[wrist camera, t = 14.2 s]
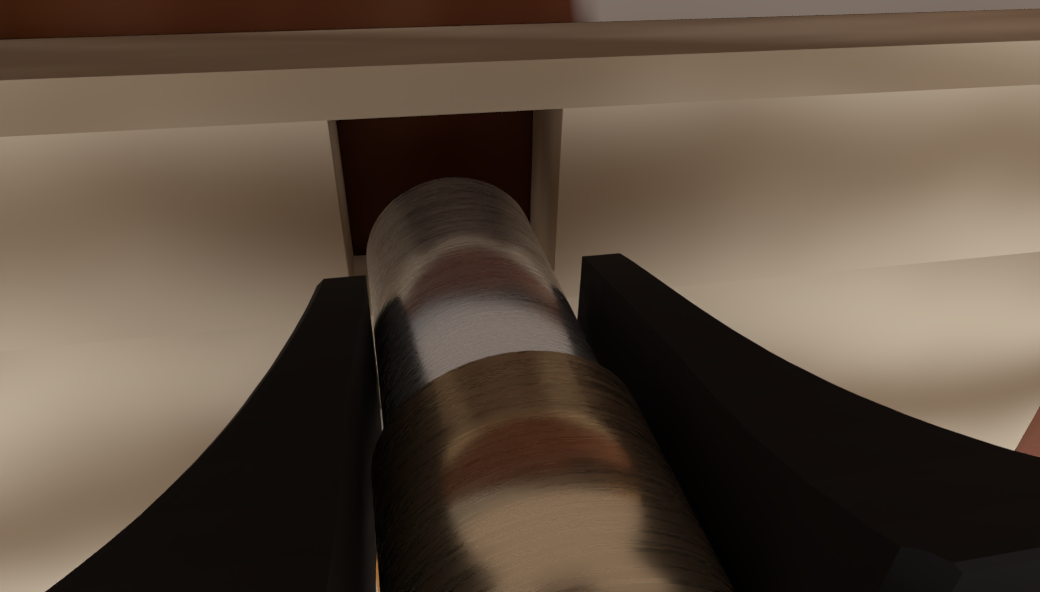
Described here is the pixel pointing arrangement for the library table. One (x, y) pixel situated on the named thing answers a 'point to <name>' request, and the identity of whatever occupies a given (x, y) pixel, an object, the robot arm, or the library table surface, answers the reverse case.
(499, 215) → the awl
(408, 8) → the library table surface
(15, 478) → the board
